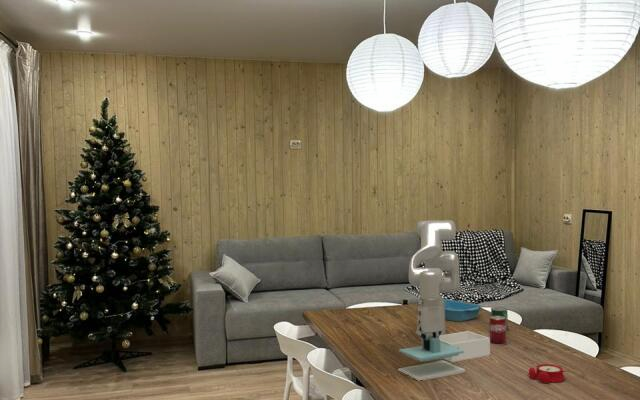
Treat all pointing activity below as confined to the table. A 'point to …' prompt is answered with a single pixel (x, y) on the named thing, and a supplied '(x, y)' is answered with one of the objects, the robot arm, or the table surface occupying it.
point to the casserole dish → (460, 310)
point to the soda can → (498, 330)
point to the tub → (467, 345)
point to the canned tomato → (500, 313)
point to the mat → (431, 370)
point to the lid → (432, 351)
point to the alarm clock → (547, 373)
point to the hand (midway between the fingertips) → (430, 348)
